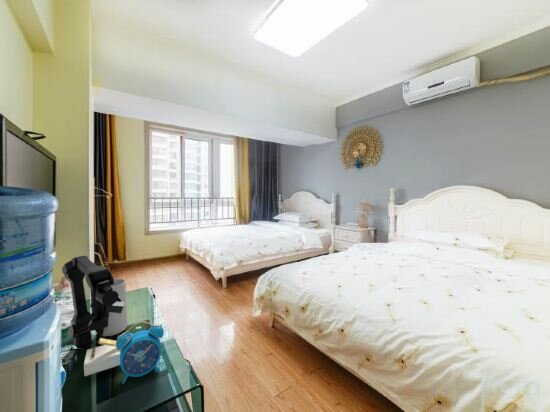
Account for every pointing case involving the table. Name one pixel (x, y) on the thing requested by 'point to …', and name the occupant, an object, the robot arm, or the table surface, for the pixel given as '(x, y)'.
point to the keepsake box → (101, 359)
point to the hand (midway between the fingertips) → (101, 334)
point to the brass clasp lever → (107, 342)
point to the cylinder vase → (117, 319)
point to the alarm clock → (140, 350)
